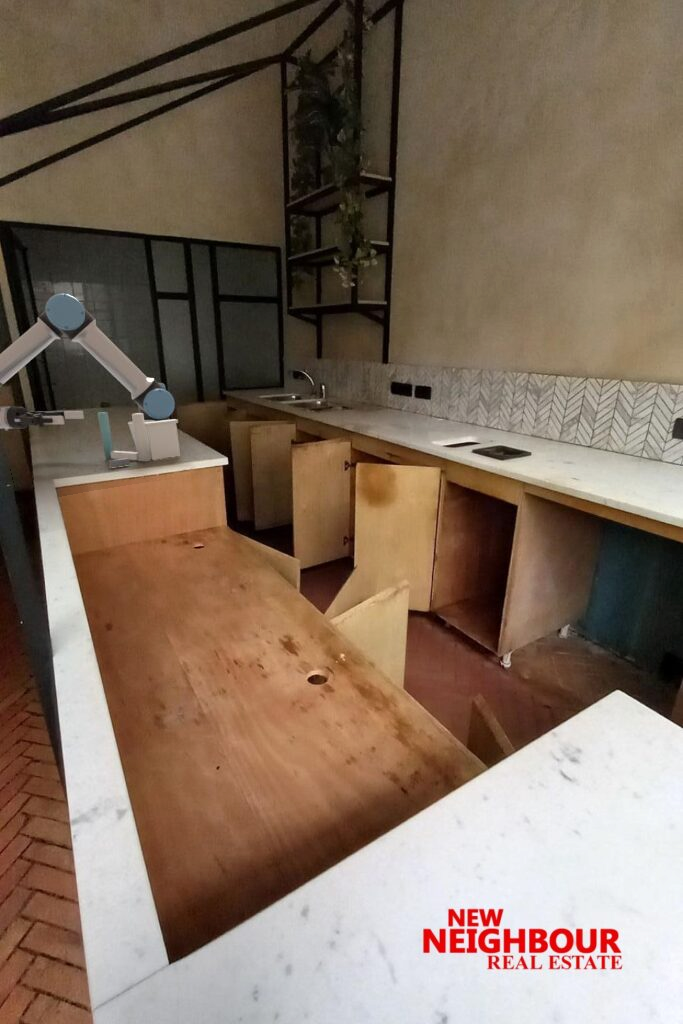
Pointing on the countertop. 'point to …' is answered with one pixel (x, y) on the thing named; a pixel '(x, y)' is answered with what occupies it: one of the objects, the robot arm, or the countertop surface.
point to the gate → (140, 438)
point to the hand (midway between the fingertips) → (73, 417)
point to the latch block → (119, 462)
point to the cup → (134, 432)
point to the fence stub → (162, 439)
